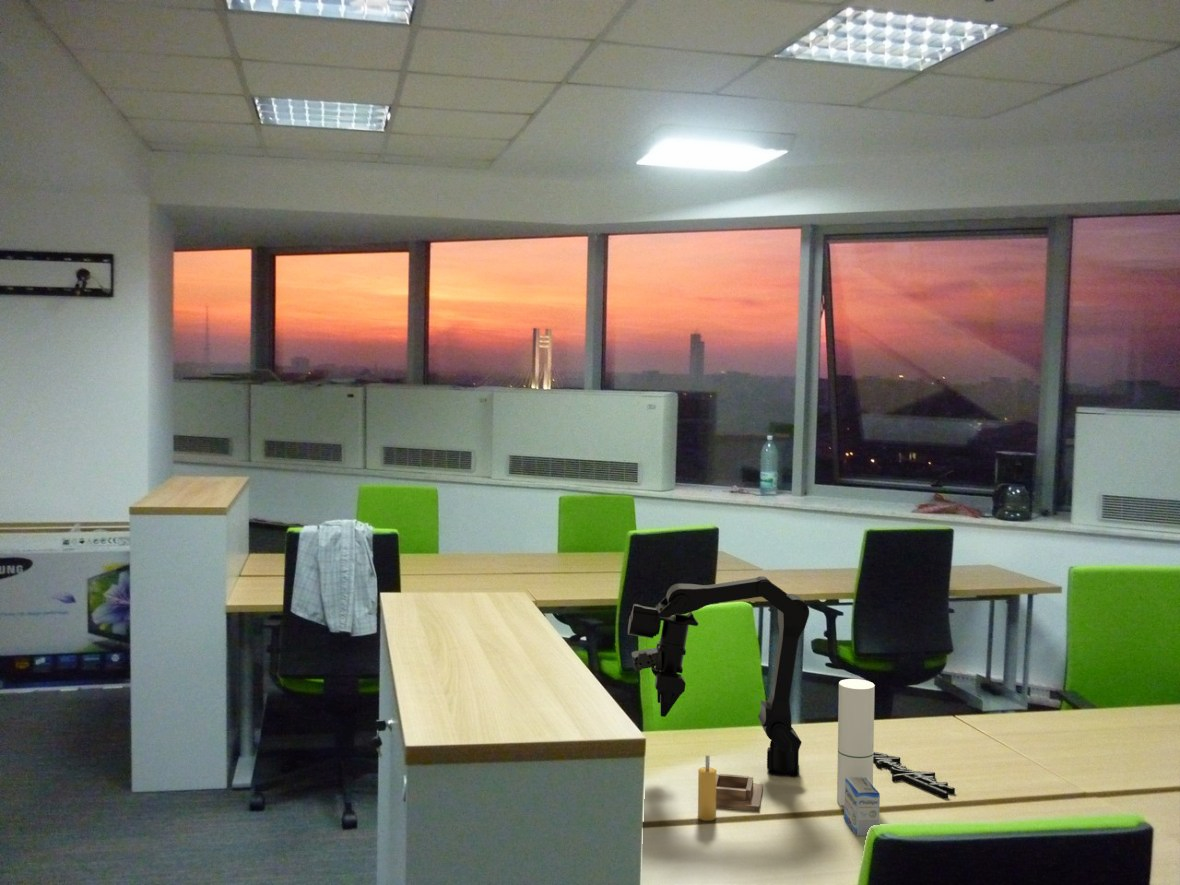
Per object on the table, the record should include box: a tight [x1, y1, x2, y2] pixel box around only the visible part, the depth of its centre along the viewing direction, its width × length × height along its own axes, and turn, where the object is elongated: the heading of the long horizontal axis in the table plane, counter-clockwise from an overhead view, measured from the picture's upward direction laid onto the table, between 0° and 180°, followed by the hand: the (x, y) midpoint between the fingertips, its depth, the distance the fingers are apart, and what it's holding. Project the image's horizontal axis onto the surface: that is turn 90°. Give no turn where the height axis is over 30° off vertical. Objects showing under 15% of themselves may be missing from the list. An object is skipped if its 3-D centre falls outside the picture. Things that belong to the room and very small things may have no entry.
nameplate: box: [873, 751, 956, 800], centre depth 230 cm, size 27×2×10 cm
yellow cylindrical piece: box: [697, 754, 717, 822], centre depth 208 cm, size 4×4×12 cm
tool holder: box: [716, 773, 764, 812], centre depth 218 cm, size 12×12×3 cm
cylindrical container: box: [836, 678, 876, 807], centre depth 214 cm, size 7×7×25 cm
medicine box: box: [843, 777, 881, 837], centre depth 203 cm, size 8×4×9 cm, turn 5°
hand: (661, 709), depth 231 cm, fingers open, 9 cm apart
